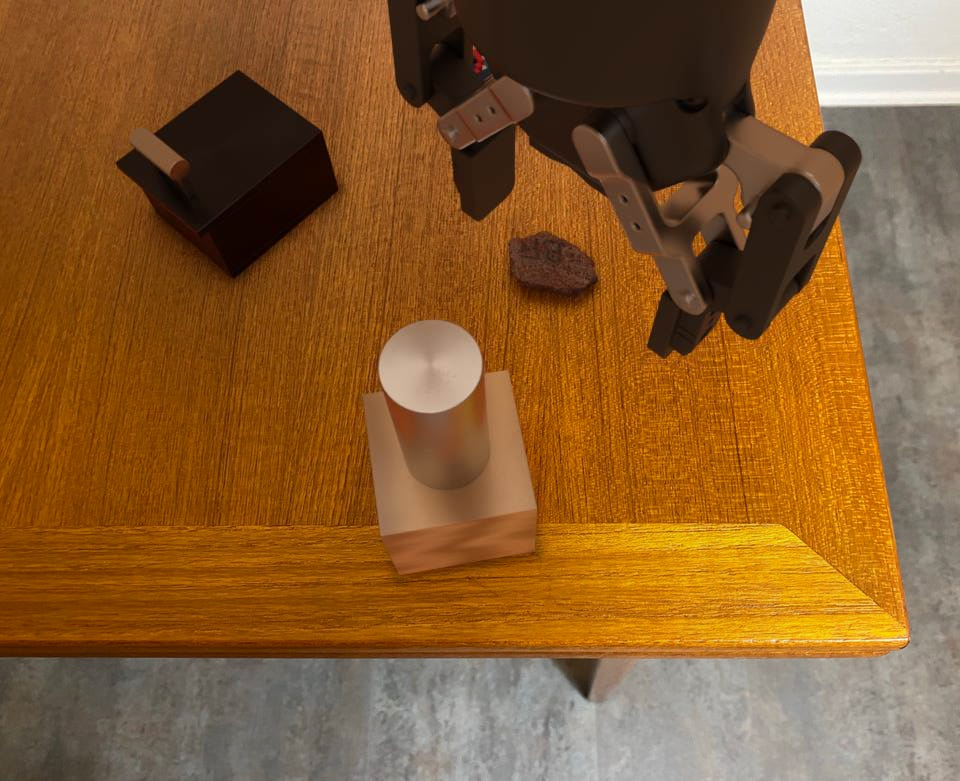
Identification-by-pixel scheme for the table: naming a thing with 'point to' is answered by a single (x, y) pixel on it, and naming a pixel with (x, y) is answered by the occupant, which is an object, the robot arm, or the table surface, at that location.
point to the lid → (218, 152)
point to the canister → (437, 401)
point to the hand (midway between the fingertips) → (577, 267)
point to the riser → (454, 493)
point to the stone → (551, 265)
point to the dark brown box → (264, 212)
